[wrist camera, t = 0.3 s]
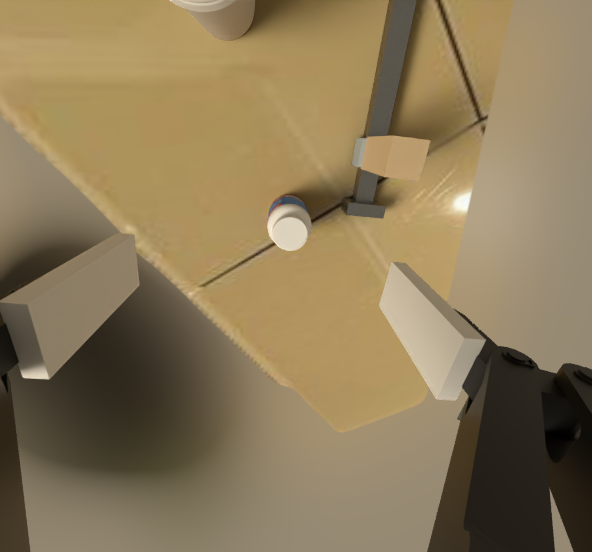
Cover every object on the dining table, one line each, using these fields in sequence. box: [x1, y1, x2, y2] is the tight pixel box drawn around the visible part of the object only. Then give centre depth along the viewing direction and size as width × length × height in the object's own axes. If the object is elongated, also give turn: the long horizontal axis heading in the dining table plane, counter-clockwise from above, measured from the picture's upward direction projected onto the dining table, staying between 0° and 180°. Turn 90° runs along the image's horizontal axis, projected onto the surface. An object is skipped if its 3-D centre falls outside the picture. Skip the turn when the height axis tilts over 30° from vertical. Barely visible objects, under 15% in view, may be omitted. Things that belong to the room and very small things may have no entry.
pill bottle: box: [268, 195, 312, 251], centre depth 37 cm, size 6×5×10 cm
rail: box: [341, 0, 417, 218], centre depth 34 cm, size 27×5×4 cm, turn 174°
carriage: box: [352, 136, 431, 181], centre depth 33 cm, size 4×5×12 cm
